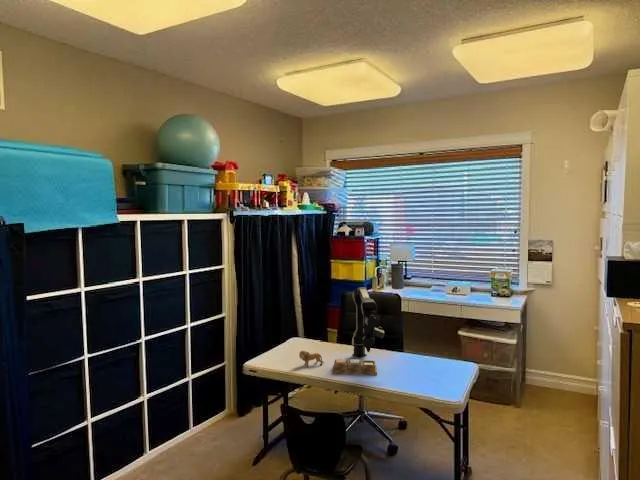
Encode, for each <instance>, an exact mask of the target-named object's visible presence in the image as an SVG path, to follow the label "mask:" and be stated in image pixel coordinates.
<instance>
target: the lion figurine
mask: <svg viewBox="0 0 640 480" xmlns="http://www.w3.org/2000/svg"><path fill="white" fill-rule="evenodd" d="M298 355H299V356H298V357H299V359H300V360H302V361H303V362H304V364H306V365H305V367H309V363H310V361H314V360H315V362H314V365H317V364H318V363H320V364H319V365H320V366H322V365H323V364H324V363H325V362H324V361H323V357H322V355H321V354H320V353H319V352H315V353H310V352H309V351H306V350H300V351H299V354H298Z"/></svg>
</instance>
